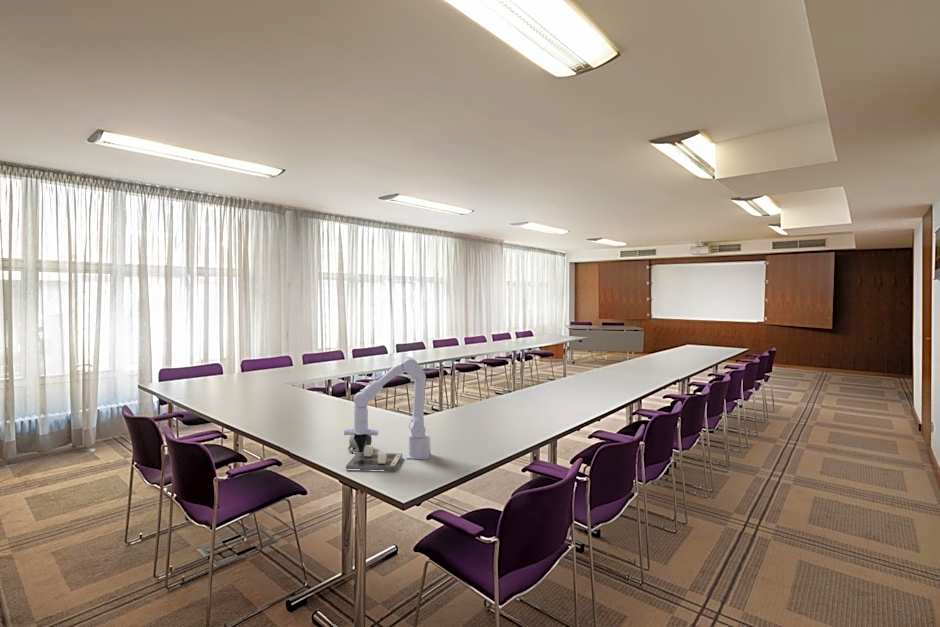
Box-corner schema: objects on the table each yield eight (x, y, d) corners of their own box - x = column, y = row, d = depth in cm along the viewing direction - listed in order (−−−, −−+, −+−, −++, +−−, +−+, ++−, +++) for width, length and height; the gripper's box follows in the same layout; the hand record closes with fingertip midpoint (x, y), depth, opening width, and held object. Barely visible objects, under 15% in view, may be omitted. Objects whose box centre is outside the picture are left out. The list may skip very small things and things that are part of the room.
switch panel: (402, 458, 204) (402, 453, 204) (394, 471, 188) (394, 466, 188) (357, 457, 205) (357, 452, 205) (345, 470, 189) (345, 465, 189)
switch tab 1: (372, 454, 202) (372, 445, 202) (371, 456, 199) (371, 447, 199) (366, 453, 202) (366, 445, 202) (364, 456, 199) (364, 447, 199)
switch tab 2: (386, 460, 194) (386, 451, 193) (385, 463, 191) (385, 454, 190) (379, 460, 194) (379, 451, 194) (377, 463, 191) (377, 454, 191)
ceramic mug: (357, 445, 222) (357, 429, 221) (372, 447, 218) (371, 431, 218) (343, 452, 212) (343, 435, 211) (358, 454, 209) (358, 438, 208)
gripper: (341, 422, 197) (341, 454, 197) (375, 423, 196) (375, 455, 196) (346, 418, 204) (347, 448, 204) (379, 418, 203) (379, 449, 203)
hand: (361, 451), depth 201 cm, fingers closed
